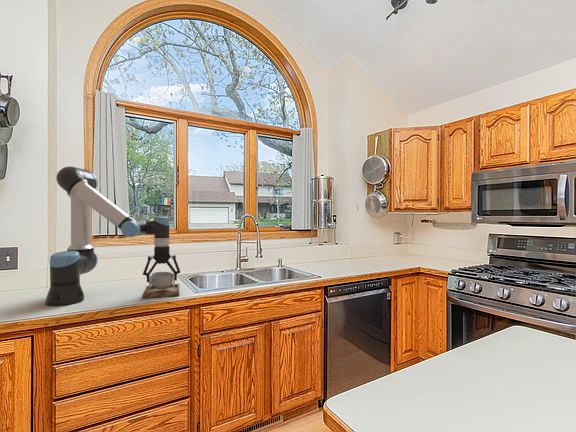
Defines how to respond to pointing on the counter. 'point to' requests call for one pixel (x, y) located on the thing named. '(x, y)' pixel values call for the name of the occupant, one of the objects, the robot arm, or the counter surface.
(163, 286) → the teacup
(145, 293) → the brown wooden tray
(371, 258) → the counter surface
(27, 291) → the counter surface
